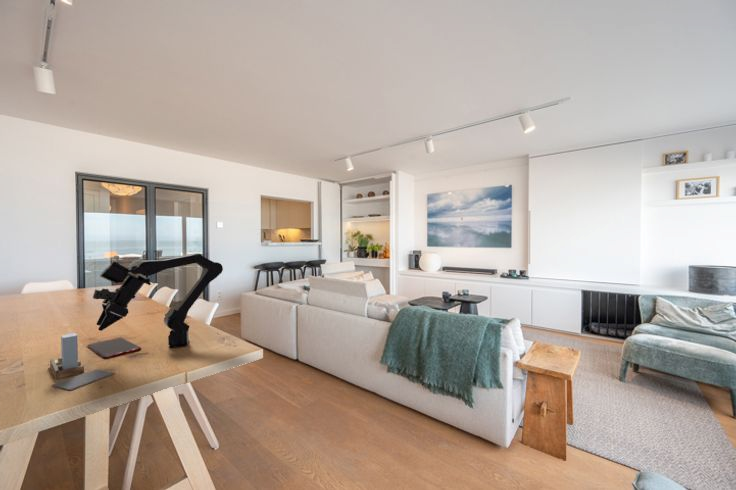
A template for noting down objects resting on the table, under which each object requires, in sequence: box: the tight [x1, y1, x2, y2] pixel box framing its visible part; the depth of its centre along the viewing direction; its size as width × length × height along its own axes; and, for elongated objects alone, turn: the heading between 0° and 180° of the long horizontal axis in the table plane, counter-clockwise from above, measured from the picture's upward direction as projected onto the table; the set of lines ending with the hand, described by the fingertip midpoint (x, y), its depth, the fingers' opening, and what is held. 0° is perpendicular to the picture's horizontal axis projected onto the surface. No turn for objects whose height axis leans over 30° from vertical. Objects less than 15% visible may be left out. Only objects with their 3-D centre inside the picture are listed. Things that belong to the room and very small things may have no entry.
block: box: [60, 332, 79, 370], centre depth 105 cm, size 4×4×12 cm
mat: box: [51, 368, 116, 391], centre depth 99 cm, size 12×9×1 cm
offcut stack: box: [54, 355, 80, 366], centre depth 110 cm, size 6×4×3 cm, turn 141°
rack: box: [49, 358, 85, 380], centre depth 107 cm, size 7×15×2 cm, turn 51°
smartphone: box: [86, 337, 142, 360], centre depth 127 cm, size 12×2×25 cm
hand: (98, 327), depth 112 cm, fingers open, 9 cm apart
